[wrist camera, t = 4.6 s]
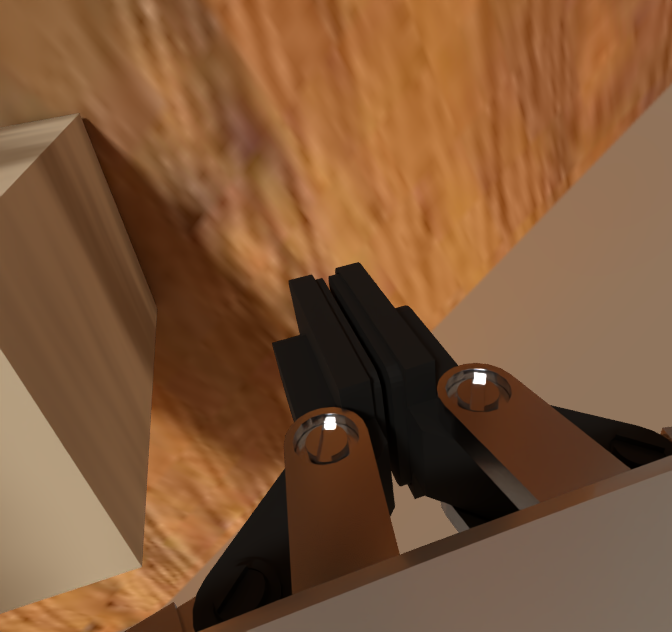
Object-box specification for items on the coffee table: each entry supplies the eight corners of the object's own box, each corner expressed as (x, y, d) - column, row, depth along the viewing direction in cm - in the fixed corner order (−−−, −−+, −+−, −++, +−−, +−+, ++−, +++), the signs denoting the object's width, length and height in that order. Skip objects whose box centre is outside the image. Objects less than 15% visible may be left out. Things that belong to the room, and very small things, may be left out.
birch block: (80, 112, 17) (-58, 258, 7) (157, 306, 21) (141, 567, 11) (-78, 141, 16) (-495, 353, 6) (36, 336, 20) (-96, 645, 10)
